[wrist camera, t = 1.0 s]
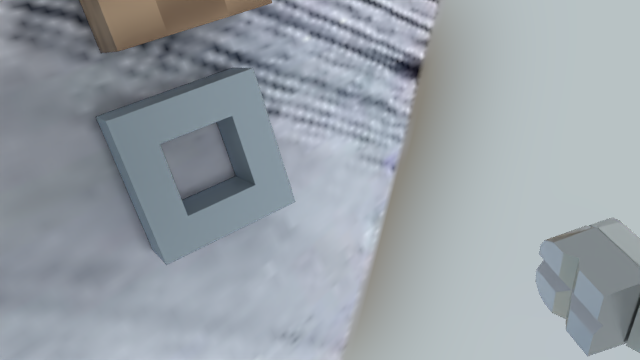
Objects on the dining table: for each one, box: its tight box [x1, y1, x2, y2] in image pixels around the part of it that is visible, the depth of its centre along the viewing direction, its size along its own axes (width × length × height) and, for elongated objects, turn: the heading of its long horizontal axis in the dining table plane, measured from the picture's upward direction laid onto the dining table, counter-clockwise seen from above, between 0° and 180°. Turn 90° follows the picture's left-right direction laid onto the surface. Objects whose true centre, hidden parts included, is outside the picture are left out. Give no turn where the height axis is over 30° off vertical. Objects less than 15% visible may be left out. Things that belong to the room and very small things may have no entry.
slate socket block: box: [96, 68, 295, 265], centre depth 43 cm, size 11×11×4 cm
